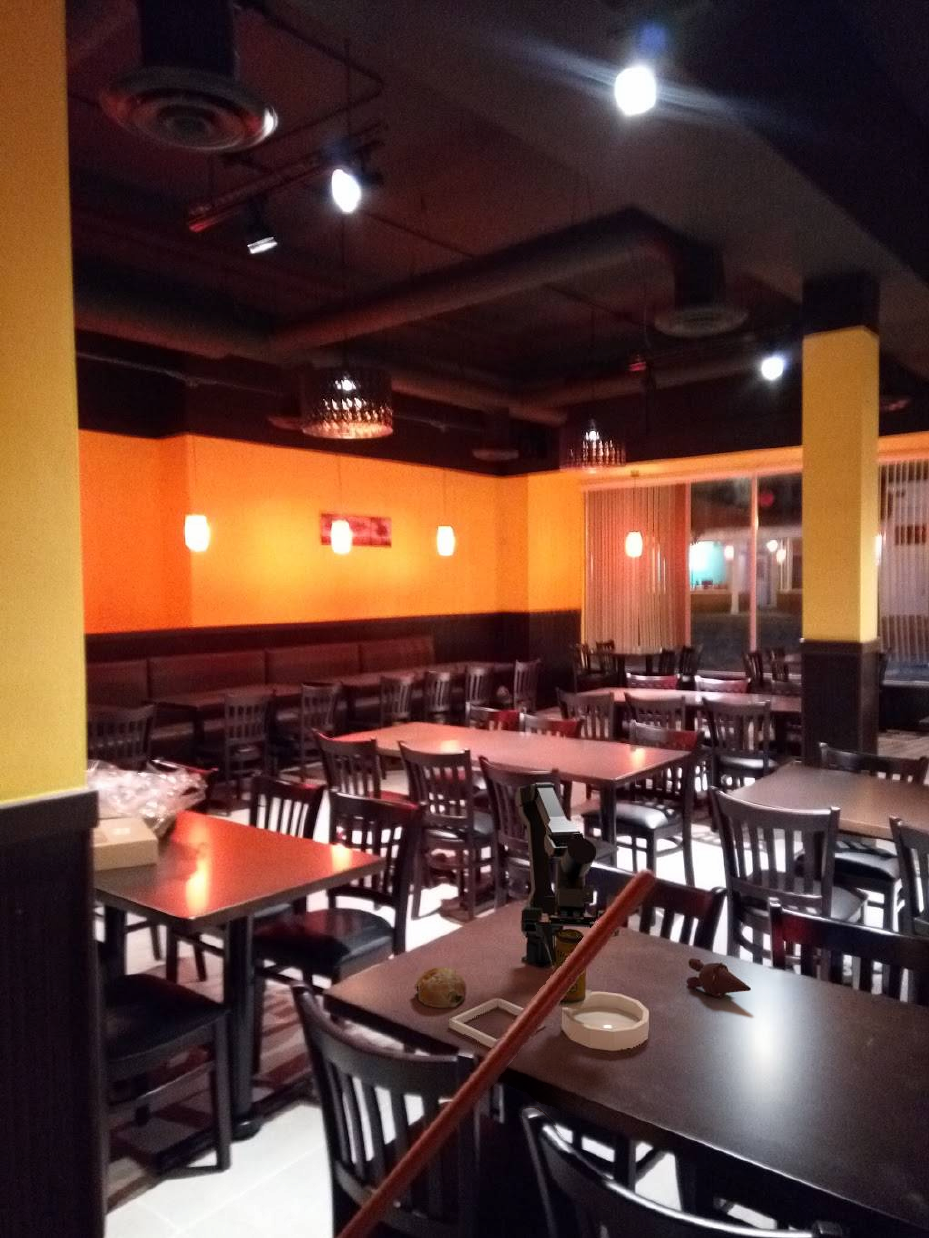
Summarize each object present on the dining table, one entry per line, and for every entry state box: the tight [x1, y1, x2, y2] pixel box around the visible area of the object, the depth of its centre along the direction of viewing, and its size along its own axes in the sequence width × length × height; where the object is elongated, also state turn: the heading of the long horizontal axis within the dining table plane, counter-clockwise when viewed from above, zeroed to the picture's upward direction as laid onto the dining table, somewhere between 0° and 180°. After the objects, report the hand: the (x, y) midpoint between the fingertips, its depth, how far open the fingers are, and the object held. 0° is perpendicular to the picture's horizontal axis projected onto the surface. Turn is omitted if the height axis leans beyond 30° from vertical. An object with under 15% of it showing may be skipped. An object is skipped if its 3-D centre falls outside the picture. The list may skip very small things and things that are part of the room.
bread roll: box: [413, 966, 467, 1009], centre depth 182 cm, size 10×10×8 cm
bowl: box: [561, 991, 650, 1052], centre depth 170 cm, size 16×16×4 cm
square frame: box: [448, 996, 547, 1049], centre depth 170 cm, size 14×13×2 cm
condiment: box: [553, 928, 593, 1010], centre depth 168 cm, size 7×8×12 cm
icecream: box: [686, 957, 752, 999], centre depth 184 cm, size 7×7×15 cm
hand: (570, 965), depth 167 cm, fingers closed on condiment, 6 cm apart
